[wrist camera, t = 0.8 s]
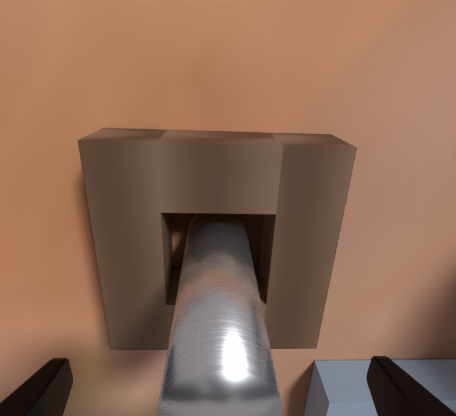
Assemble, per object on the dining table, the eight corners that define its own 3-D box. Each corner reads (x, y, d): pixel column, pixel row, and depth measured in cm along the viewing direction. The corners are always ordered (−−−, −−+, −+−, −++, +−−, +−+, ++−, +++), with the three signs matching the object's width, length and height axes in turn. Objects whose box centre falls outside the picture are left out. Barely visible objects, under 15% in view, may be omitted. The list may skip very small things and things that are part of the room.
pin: (247, 205, 16) (289, 369, 7) (244, 256, 18) (276, 450, 9) (187, 204, 16) (153, 371, 7) (188, 256, 18) (160, 454, 8)
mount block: (330, 134, 15) (356, 147, 12) (301, 309, 19) (316, 348, 17) (103, 128, 15) (77, 140, 12) (126, 310, 19) (111, 350, 16)
